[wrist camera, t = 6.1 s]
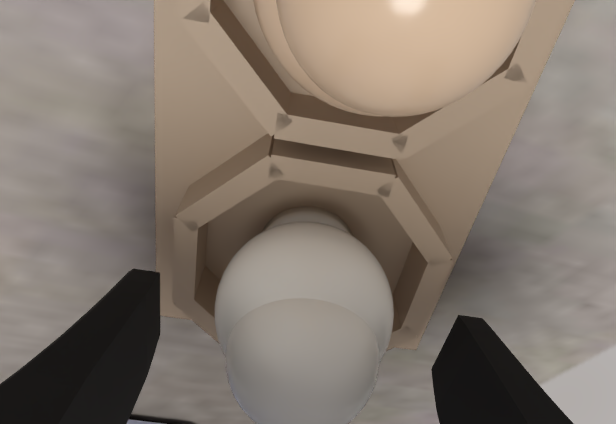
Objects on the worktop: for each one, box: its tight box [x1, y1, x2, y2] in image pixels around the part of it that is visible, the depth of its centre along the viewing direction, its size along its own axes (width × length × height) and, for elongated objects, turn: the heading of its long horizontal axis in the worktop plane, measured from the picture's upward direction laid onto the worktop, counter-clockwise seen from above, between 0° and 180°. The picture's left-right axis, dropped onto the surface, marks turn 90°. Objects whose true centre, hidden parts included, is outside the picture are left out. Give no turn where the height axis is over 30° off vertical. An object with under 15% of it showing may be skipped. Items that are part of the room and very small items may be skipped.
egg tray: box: [154, 0, 575, 351], centre depth 11 cm, size 15×9×2 cm, turn 170°
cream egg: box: [215, 207, 394, 424], centre depth 11 cm, size 4×4×6 cm
